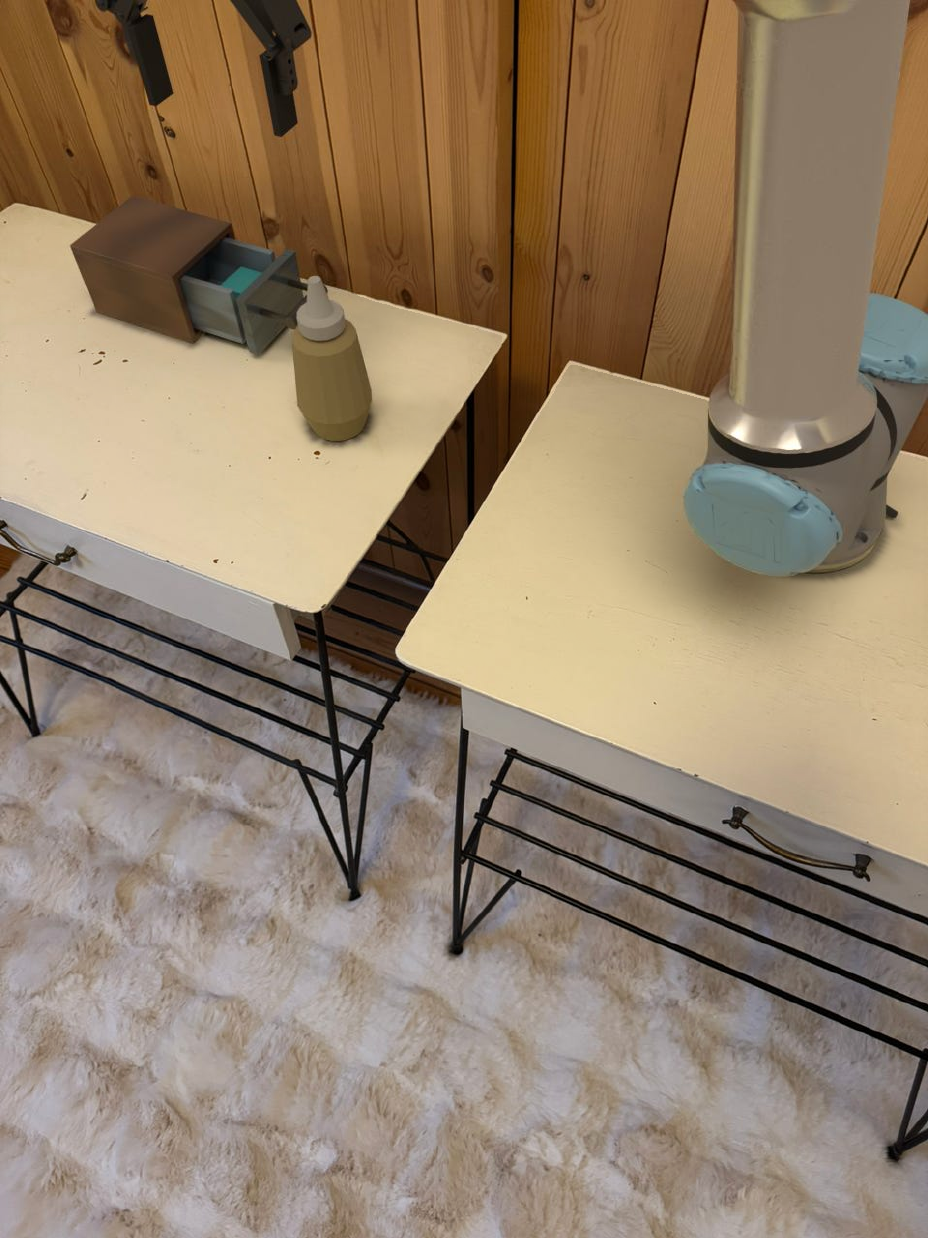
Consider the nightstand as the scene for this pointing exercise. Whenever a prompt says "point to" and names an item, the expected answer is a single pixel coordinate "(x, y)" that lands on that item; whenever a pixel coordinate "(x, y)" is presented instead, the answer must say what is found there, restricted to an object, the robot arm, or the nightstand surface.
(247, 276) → the teal rectangular block
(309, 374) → the squeeze bottle
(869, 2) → the robot arm
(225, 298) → the grey drawer
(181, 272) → the drawer cabinet
